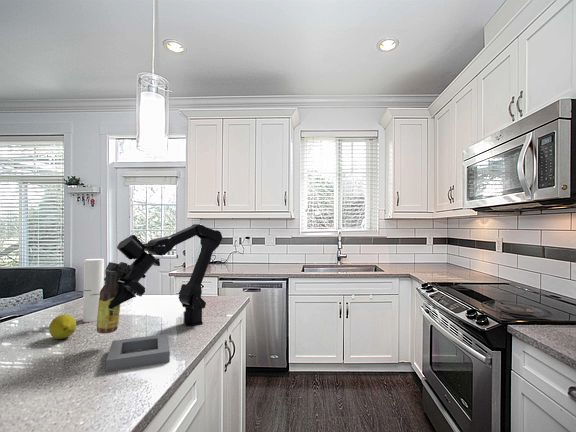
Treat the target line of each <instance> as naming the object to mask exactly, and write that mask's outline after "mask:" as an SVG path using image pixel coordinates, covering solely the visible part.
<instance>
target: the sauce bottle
mask: <svg viewBox="0 0 576 432" xmlns="http://www.w3.org/2000/svg"><path fill="white" fill-rule="evenodd" d="M105 270H106V269H105ZM104 274H105V277H106V279H105V281H104V285H103V288H102V289H101V291H100V298H99V305H98V315H97V321H96V332H97V333H99V334H104V335H105V334H111V333H114V332H116V331H117V330H118V327H119V323H120V311H121V304H119V305H118V306H116V307H114V308H112V309H110V308H108V306H109V305H110V303H111V302H112V300H113V299H114V297H115V296H116V295H117V293H118V292H119V285H118V278H119V272H118V271H109V270H106V271H104Z"/></svg>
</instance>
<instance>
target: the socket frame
mask: <svg viewBox="0 0 576 432" xmlns="http://www.w3.org/2000/svg"><path fill="white" fill-rule="evenodd" d="M142 349H143V350H144V351H143V350H142ZM150 349H151V350H150ZM135 350H136V352H134V351H135ZM128 351H129V353H127V352H128ZM170 351H171V349H170V344H169V337H168V334H167V333H164V334H163V333H162V334H157V335H148V336H142V337H141V336H140V337H139V336H138V337H133V338H125V339H117V340H112V342H111V345H110V347H109V351H108V354H107V357H106V360H105V372H106V373H107V372H113V371H114V372H115V371H121V370H126V369H128V370H129V369H132V368H133V369H134V368H139V367H145V366H146V367H147V366H152V365H157V364H158V365H159V364H164V363H170V361H171V360H170V359H171V357H170V356H171V355H170V354H171V352H170Z"/></svg>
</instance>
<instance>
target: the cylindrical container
mask: <svg viewBox="0 0 576 432" xmlns="http://www.w3.org/2000/svg"><path fill="white" fill-rule="evenodd" d="M104 274H105V259H104V258H87V259H84V261H83V292H82V296H83V297H82V298H83V300H82V322H83V323H85V322H86V323H89V322H90V323H93V322H97V315H98V305H99V298H100V291H101V289H102V288H103V286H104V285H105V281H104V278H105V276H104Z"/></svg>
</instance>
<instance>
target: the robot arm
mask: <svg viewBox="0 0 576 432" xmlns="http://www.w3.org/2000/svg"><path fill="white" fill-rule="evenodd" d="M194 237H198V239H200V245H201V246H200V247H201V248H200V252H199V254H198V258H197V260H196V263H195V265H194V268H193V271H192V273H191V275H190V278H189V280H188V281H187V283H186V284H185V283H182V284H181V287H180V290H179V292H178V293H177V294H178V299H179V303H181V306H182V307H183V308H184V311H183V324H185V326H186V327H188V326H189V327H190V326H196V325H203V324H204V322H203V309H205V308H206V305H207V301H205V300H204V299H203V298H202V293H203V289H202V283H203V280H204V277H205V275H206V271H207V270H208V267H209V264H210V261H211V258H212V255H213V253H214V251H215V250H217V249H218V248H219V246H220V244H221V242H222V240H223V235H222V232H221V231H220V230H215V229H213V228H210V227H207V226H205V225H203V224H201V223H199V224H198V223H193V224H192V225H190V226H188V227H186V228H183V229H181V230H179V231H176V232H175V233H173V234H170V235H168V236H163V237H157V238H153V239H149V240H148V241H147V243H143V242H141V241H140V240H139V238H138V237H137V236H136V235H135V234H131V235H130V236H128V237H125V239H123V240H121V241H120V242H119V243H118V245H117V246H116V249H117V250H118V251H119V252H120V253H121V254H122V255H124V256H125V257H126V258H127V259H128V260H134V261H133V262H132V263H131V264H128V263H127V262H123V261H121V262H119V263H116V262H111V261H109V262H108V264H107V266H106V268H105V269H104V272H106V270H109V271H118V272H119V278H118V285H119V292H118V293H117V295H116V296H115V297H114V299H113V300H112V302H111V303H110V305H109V306H108V308H110V309H112V308H114V307H116V306H118V305H119V304H120V305H121V304H123V303H125V302H127V301H130V300H131V299H134V298H137V296H138V297H143V295H145V293H146V287H145V286H144V285H143V284H141V283H140V282H139V281H141V280H142V279H146V277H147V276H146V274H147V273H148V271H149V270H150V269H151V268H152V267H153V266H155V267H160V266H161V263H160V260H161V259H160V258H157V257H155V256H161V257H162V256H165V255H166V254H168V253H169V252H171V251H172V250H173V248H175V247H176V246H177V245H179V244H181V243H184V242H185V241H188V240H190V239H191V238H194ZM105 279H106V276H104V282H105Z"/></svg>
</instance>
